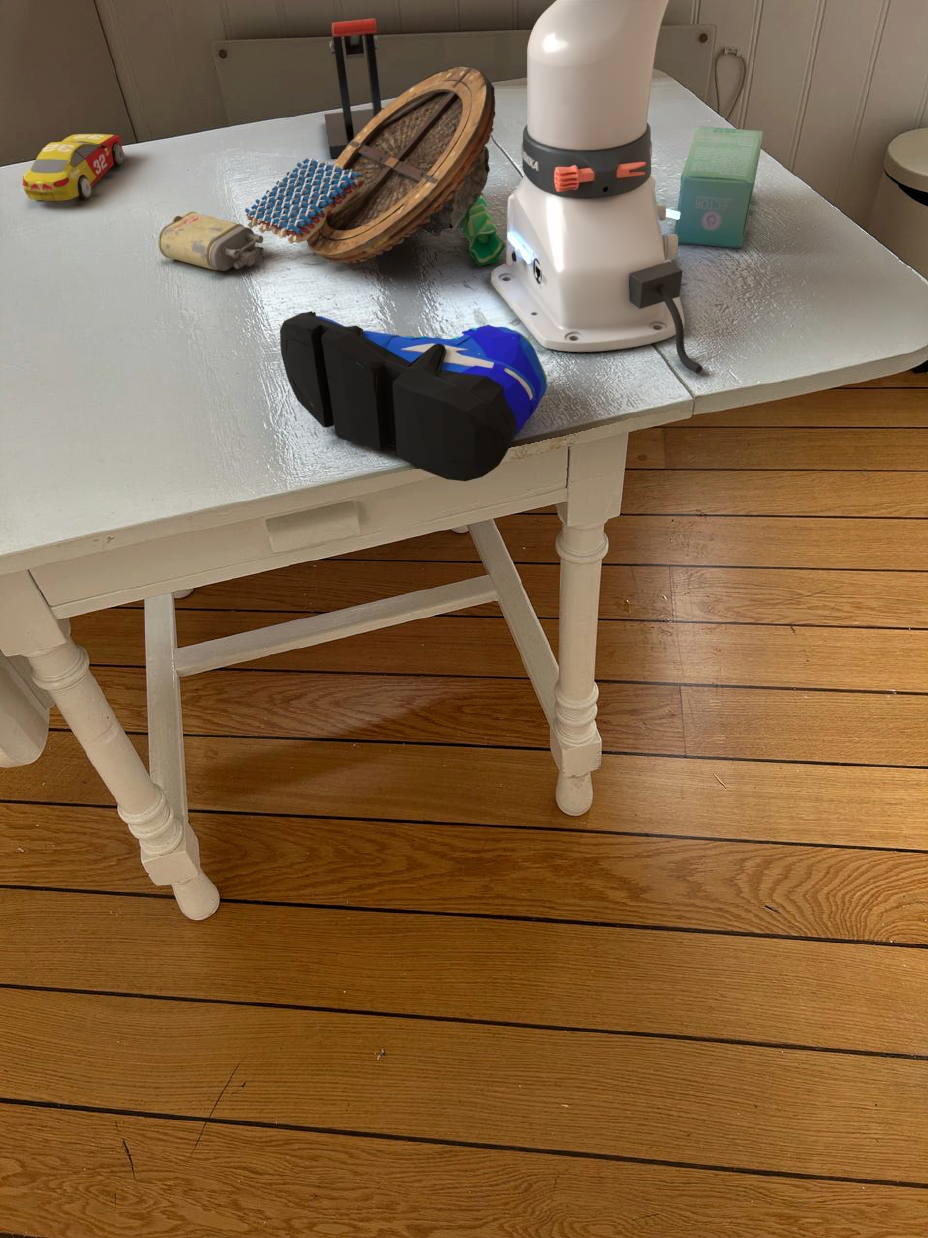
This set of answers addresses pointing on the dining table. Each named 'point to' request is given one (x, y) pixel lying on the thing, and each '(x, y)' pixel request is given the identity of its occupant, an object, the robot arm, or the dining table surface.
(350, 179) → the woven mat
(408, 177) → the round wicker shield
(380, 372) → the sneaker
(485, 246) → the candy
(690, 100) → the dining table surface
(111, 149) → the toy car
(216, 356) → the dining table surface
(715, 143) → the box
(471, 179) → the rock
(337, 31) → the lever
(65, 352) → the dining table surface
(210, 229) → the lighter
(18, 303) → the dining table surface
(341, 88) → the bracket
